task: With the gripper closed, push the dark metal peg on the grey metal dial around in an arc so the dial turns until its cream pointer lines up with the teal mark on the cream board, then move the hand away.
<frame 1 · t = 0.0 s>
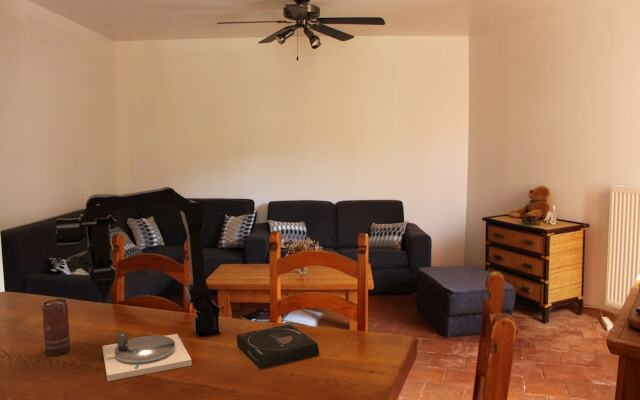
hand: (102, 297, 141), 15 cm above the table, tool pointing down, fingers open, 9 cm apart
dial: (141, 341, 136), point 5 cm above the table, hinge at 0.0°
portable cd player: (277, 353, 141), on the table
can: (58, 352, 141), on the table
board: (145, 357, 136), on the table
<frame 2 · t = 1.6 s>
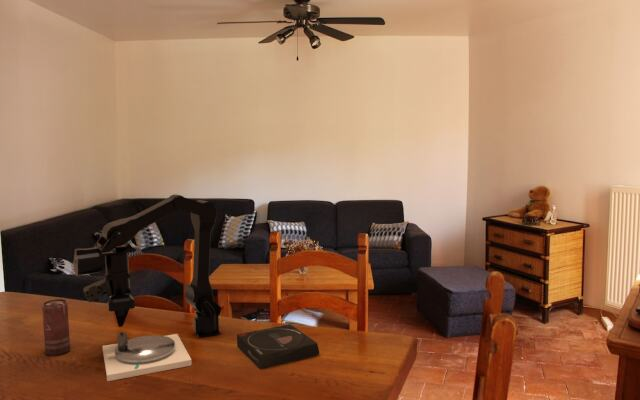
hand: (120, 326, 139), 7 cm above the table, tool pointing down, fingers closed
nothing on the table moved.
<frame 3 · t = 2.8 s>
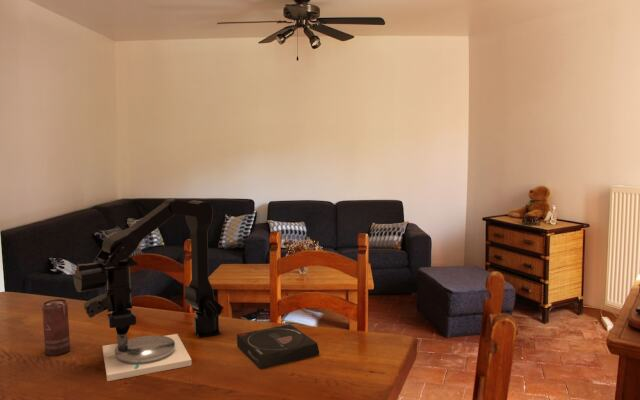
hand: (121, 341, 136), 4 cm above the table, tool pointing down, fingers closed
dial: (141, 341, 136), point 5 cm above the table, hinge at 0.0°, touching gripper
everything else where it was.
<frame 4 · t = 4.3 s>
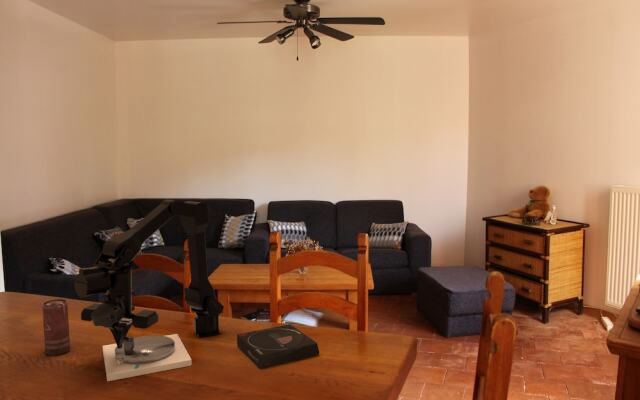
hand: (119, 347, 132), 5 cm above the table, tool pointing down, fingers closed
dial: (142, 342, 135), point 5 cm above the table, hinge at 39.8°, touching gripper
everything else where it was.
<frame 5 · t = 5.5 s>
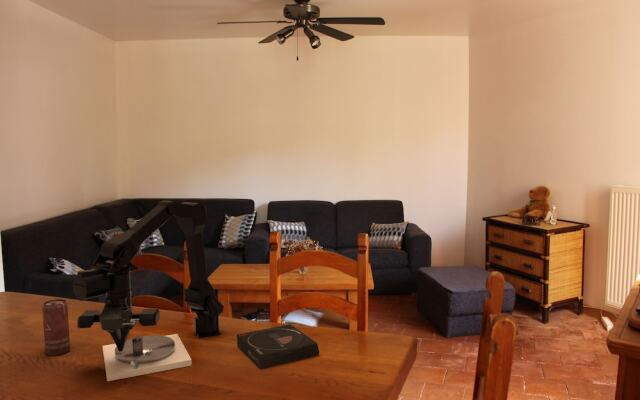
hand: (121, 350, 130), 5 cm above the table, tool pointing down, fingers closed
dial: (143, 342, 135), point 5 cm above the table, hinge at 65.1°
everything else where it was.
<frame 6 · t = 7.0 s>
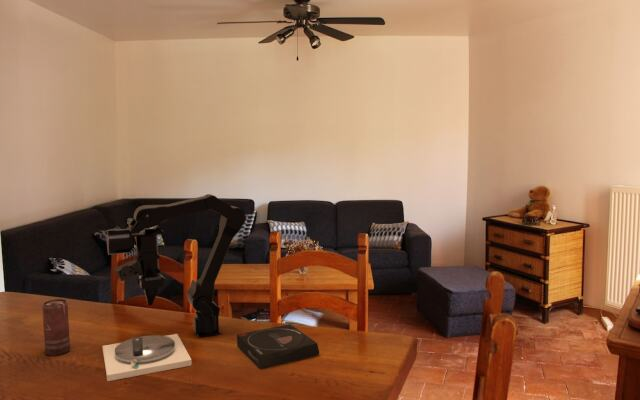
hand: (150, 304, 146), 11 cm above the table, tool pointing down, fingers closed
nothing on the table moved.
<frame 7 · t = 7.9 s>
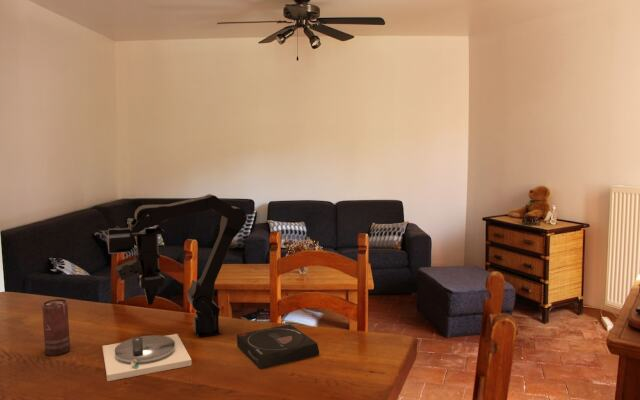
hand: (150, 304, 146), 11 cm above the table, tool pointing down, fingers closed
nothing on the table moved.
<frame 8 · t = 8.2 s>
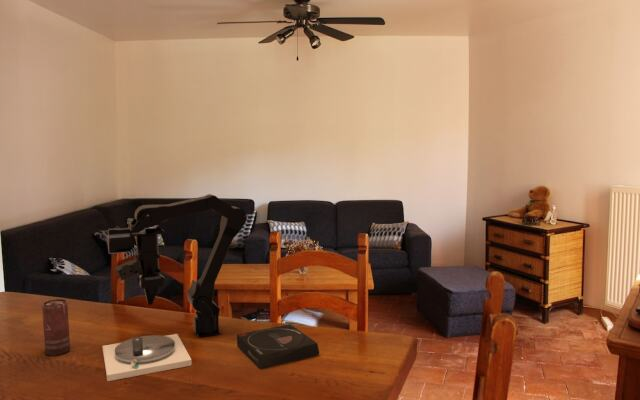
hand: (150, 304, 146), 11 cm above the table, tool pointing down, fingers closed
nothing on the table moved.
at the end: dial at +65° (first picture: +0°); can moved 0.2 cm from its start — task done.
